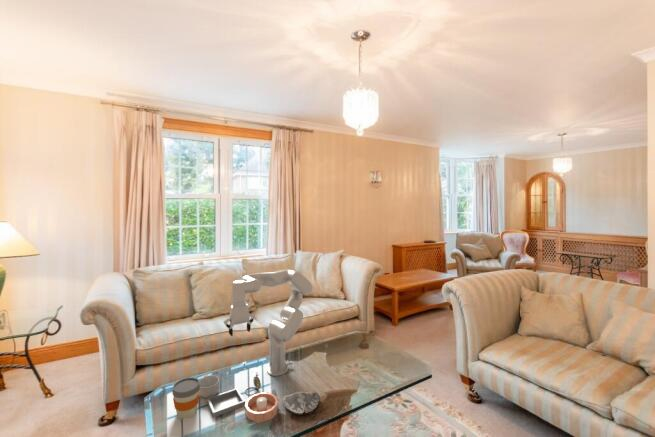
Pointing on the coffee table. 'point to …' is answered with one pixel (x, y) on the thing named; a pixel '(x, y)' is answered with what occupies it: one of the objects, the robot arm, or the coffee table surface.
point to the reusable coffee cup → (186, 397)
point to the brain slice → (301, 402)
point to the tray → (225, 402)
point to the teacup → (209, 386)
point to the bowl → (266, 415)
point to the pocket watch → (255, 384)
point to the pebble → (261, 404)
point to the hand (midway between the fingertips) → (239, 332)
